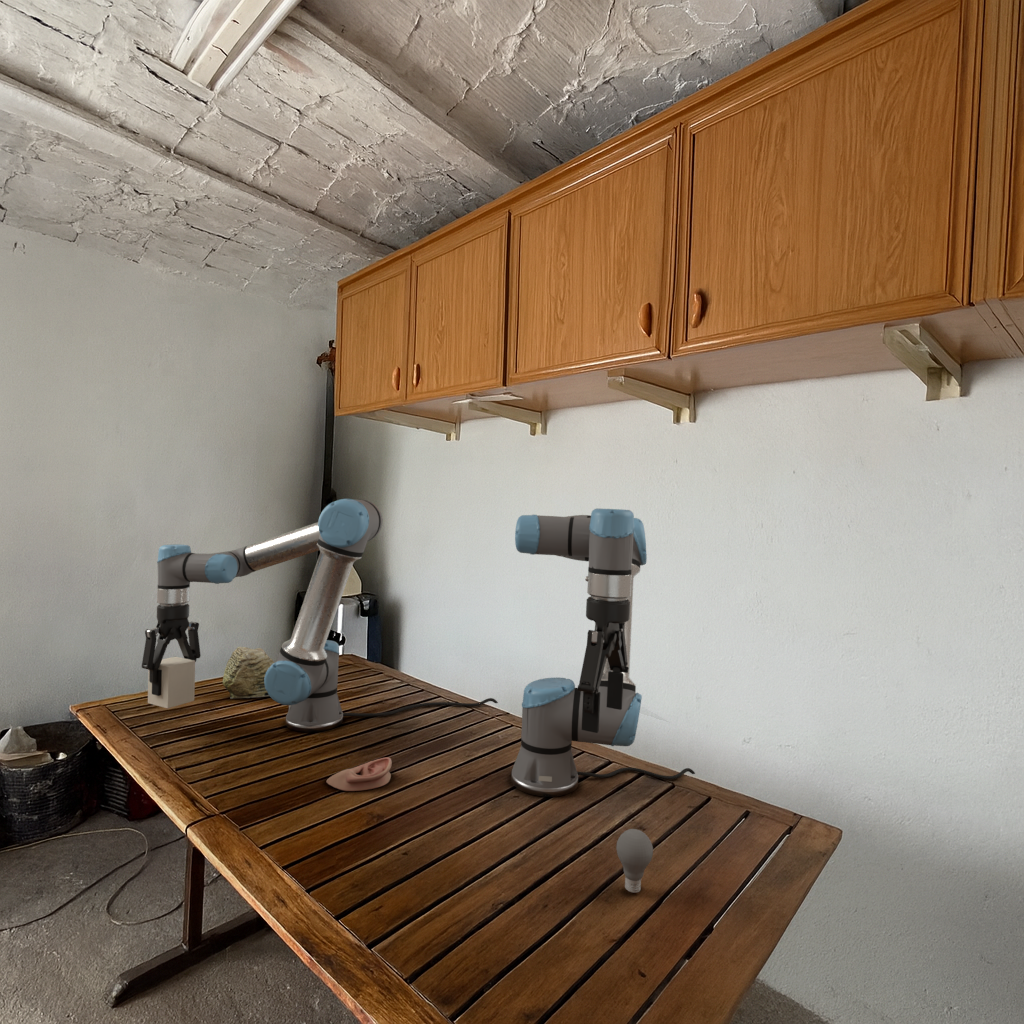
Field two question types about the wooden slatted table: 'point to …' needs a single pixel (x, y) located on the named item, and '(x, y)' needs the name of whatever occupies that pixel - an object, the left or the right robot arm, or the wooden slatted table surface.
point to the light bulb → (634, 857)
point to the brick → (174, 683)
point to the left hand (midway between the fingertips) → (171, 690)
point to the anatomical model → (363, 776)
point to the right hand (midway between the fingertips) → (602, 719)
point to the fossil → (247, 673)
